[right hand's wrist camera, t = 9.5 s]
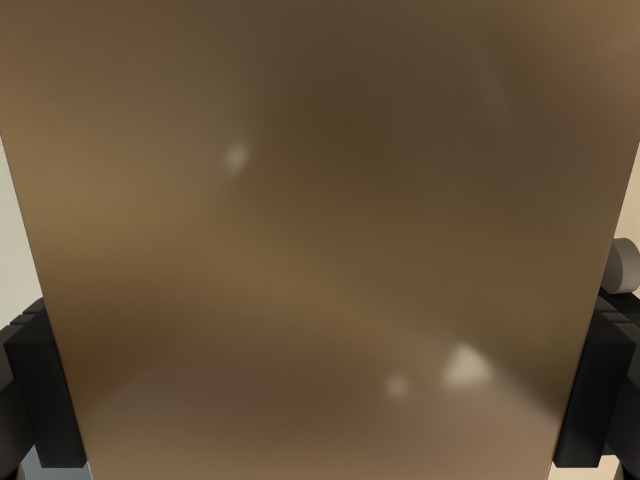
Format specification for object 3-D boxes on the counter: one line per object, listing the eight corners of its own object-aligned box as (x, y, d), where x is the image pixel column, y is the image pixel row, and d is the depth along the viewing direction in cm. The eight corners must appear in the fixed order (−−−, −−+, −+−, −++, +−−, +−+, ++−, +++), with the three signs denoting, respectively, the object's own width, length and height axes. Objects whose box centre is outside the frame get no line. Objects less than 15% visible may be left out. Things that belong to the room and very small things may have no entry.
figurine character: (500, 232, 34) (507, 402, 38) (548, 264, 26) (550, 470, 30) (591, 220, 33) (588, 392, 37) (665, 249, 26) (651, 460, 30)
